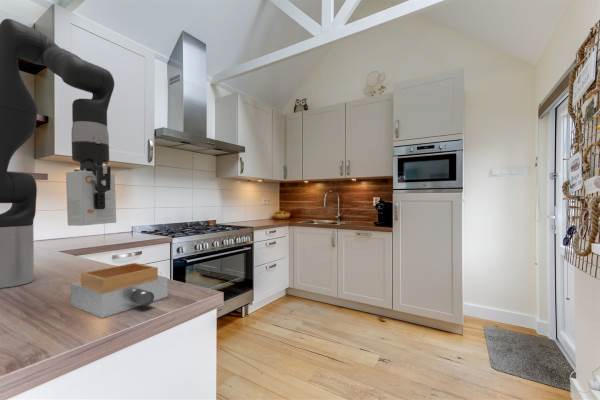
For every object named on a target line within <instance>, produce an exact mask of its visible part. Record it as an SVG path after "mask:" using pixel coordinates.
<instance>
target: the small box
mask: <svg viewBox="0 0 600 400" xmlns="http://www.w3.org/2000/svg"><path fill="white" fill-rule="evenodd" d="M90 180H94V181H97V173H96V176H95V175H94V174H93V172H92V171H74V170H73V171H66V172H65V182H66V184H65V185H66V186H65V187H66V213H67V218H66V219H67V226H74V227H76V226H78V227H79V226H93V225H104V224H114V223H115V224H116V223H117V204H116V203H117V202H116V200H117V198H116V173H115V172H111V182H110V191H107V193H105V209H94V197H93V194H96V193H94V192H93V185H92V184H91V183H90ZM102 181H103V180H102ZM96 186H97V185H96ZM105 186H106V184H105Z"/></svg>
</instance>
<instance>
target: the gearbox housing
mask: <svg viewBox="0 0 600 400" xmlns="http://www.w3.org/2000/svg"><path fill="white" fill-rule="evenodd" d="M158 269H159V268H158V266H157V267H156V266H152V265H147V264H142V263H137V262H132V263H127V264H122V265H118V266H111V267H106V268H102V269H96V270H91V271H86V272H81V273H80V281H76V282H73V283H70V305H71V306H73V307H74V308H77V309H80V310H82V311H84V312H87V313H89V314H91V315H93V316H96V317H98V318H101V319H104V318H107V317H111V316H113V315H116V314H120V313H123V312H125V311H128V310H131V309H135V308H137V307H140V306H145V307H146V306H147V307H148V306H149V305H151V304H152V303H154V302H156V301H159V300H162V299H164V298H168V277H167V276H163V275H159V271H158Z"/></svg>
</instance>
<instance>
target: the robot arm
mask: <svg viewBox="0 0 600 400" xmlns="http://www.w3.org/2000/svg"><path fill="white" fill-rule="evenodd" d="M19 59H20V60H24V61H26V62H29V63H31V64H35V65H40V66H44V67H46V68H47V69H48V70H49V71H51V73H53V74H55V75H57V76H58V77H59V78H61V80H62V82H63V83H64V84H66V85H68V86H69V87H71V88H74V89H77V90H80V91H84V92H86V93H91V95H92V97H91V98H77V99H74V100H73V101H72V106H71V108H72V110H71V113H72V114H71V115H72V116H71V117H72V126H71V160H72V161H73V162H75V163H79V164H80V166H79V169H73V171H92V172H93V174H94V175H95V176H96V173H97V181H94V180H90V183H91V184H92V185H93V192H94V193H96V194H93V197H94V209H105V193H107V191H110V182H111V173H112V171H111V165H104V164H108V163H109V162H110V137H109V136H110V134H109V131H108V130H109V129H108V109H109V105H110V103H111V97H112V95H113V92H114V88H115V79H114V77H113V74H112V73H111V72H110V71H109V70H108V69H106V68H104V67H102V66H99V65H96V64H94V63H92V62H89V61H86V60H84V59H82V58H81V57H80V56H78V55H77V54H74V53H73V52H71V51H69V50H66V49H65V48H62V47H60V46H59V45H58V44H57V43H55V41H53V40H52V38H50V37H49V36H47V35H46V34H44V33H43V32H41V31H39V30H37V29H34V28H32V27H30V26H29V25H28V26H27V25H26V24H23V23H21V22H19V21H16V20H15V19H11V18H5V19H3V20H1V22H0V204H11V207H10V208H9V209H8V210H6V211H5V212H2V213H0V289H3V288H12V287H17V286H22V285H26V284H29V283H32V282H34V280H35V277H34V276H35V275H34V268H35V266H34V264H35V263H34V261H35V258H34V251H35V250H34V219H35V217H36V212H37V211H36V209H37V198H38V197H37V195H38V193H37V192H38V189H37V187H38V186H37V181H36V179H35V178H34V176H33V175H32V174H30V173H27V172H25V173H24V172H14V171H13V172H12V171H8V170H9V169H8V168H9V165H10V162H11V159H12V157H13V156H14V155H15V153H16V152H17V151H18V149H20V148H21V147H22V146H23V145H25V143H27V141H28V140H30V138H31V137H32V136H33V135H34V133H35V132H36V130H37V129H36V128H37V120H38V106H37V104H36V102H35V100H34V98H33V96H32V94H31V92H30V91H29V89H28V87H27V86H26V84H25V83H24V81H23V79H22V76H21V72H20V69H19V68H20V67H19ZM102 180H103V181H102ZM105 184H106V186H105ZM96 185H97V186H96Z"/></svg>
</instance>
